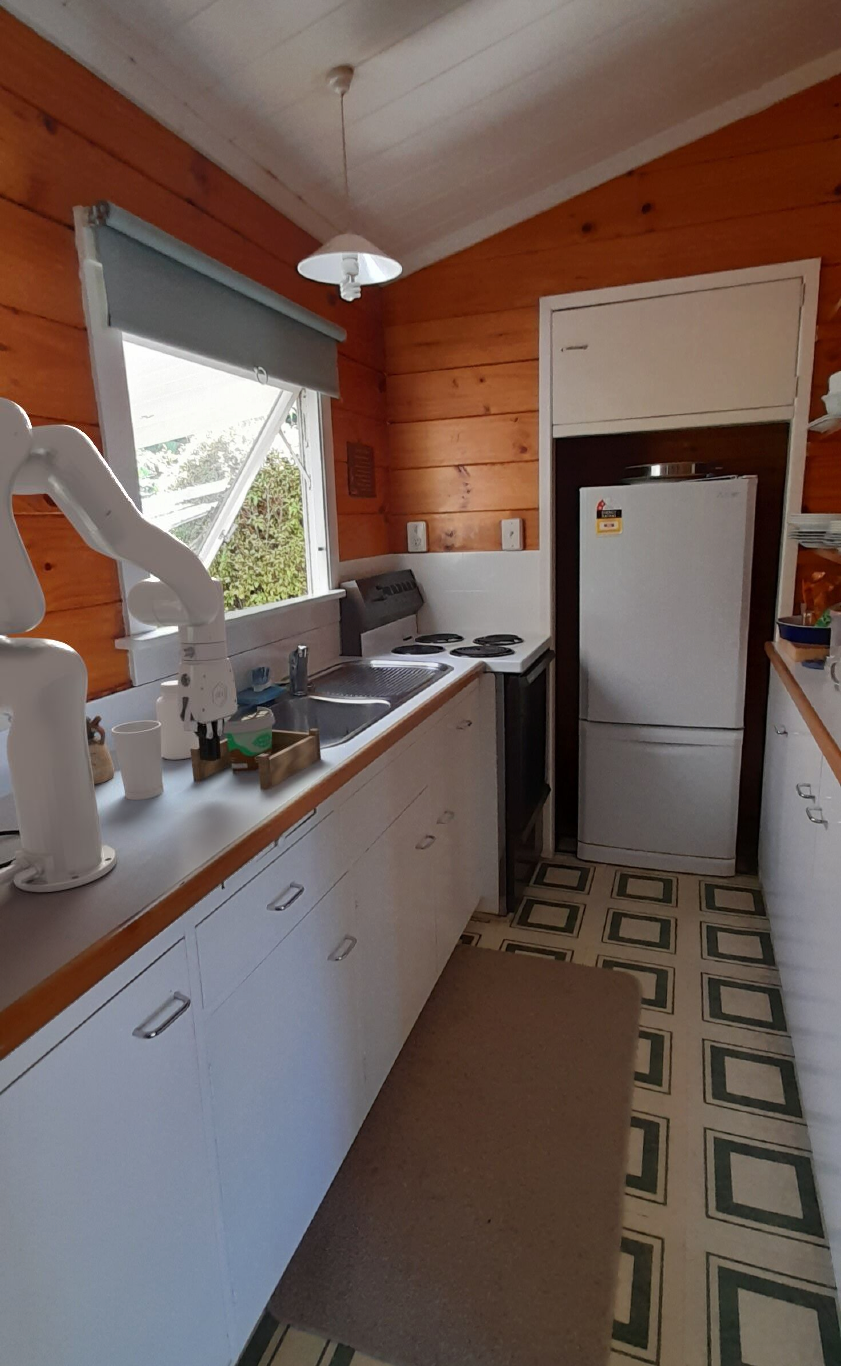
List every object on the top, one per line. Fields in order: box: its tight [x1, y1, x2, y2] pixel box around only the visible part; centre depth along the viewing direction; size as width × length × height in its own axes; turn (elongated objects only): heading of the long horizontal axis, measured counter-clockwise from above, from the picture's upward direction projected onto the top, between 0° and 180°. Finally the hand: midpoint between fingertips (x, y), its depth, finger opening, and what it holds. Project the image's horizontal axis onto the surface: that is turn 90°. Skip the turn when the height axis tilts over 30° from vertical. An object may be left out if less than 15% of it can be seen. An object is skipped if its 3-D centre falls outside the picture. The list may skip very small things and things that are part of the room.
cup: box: [111, 720, 164, 801], centre depth 127 cm, size 8×8×12 cm
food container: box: [223, 706, 276, 773], centre depth 140 cm, size 12×6×10 cm, turn 161°
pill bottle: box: [155, 679, 199, 761], centre depth 148 cm, size 8×8×15 cm
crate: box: [190, 728, 322, 791], centre depth 138 cm, size 18×16×6 cm
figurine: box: [86, 715, 115, 785], centre depth 136 cm, size 7×7×12 cm
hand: (210, 759), depth 126 cm, fingers closed
